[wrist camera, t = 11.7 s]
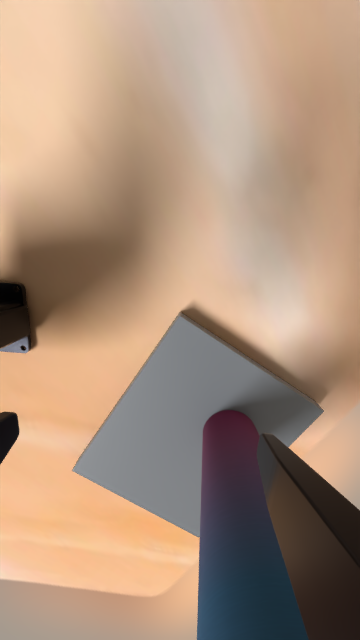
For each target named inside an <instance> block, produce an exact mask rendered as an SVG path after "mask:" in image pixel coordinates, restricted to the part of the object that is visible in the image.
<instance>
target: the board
mask: <svg viewBox="0 0 360 640" xmlns="http://www.w3.org/2000/svg"><path fill="white" fill-rule="evenodd" d="M224 410H234V411H239V412H241V413H243V414H245V415H246V416H248V417H249V418H250V419H251V420H252V422H253V423H254V425H255V427H256V429H257V431H258V433H259V435H260V434H261V433H270V434H273V435H275V436H276V437H277V438H278V439H279V440H280V441H281V442H283V443H284V444H285V445H286V446H287V447H289V446H290V445H291V444H292V443H293V442H294V441H295V440H296V439H297V438H298V437H299V436H300V435H301V434H302V433H303V432H304V431H305V430H306V429H307V428H308V427H309V426H310V425H311V424H312V423H313V422H314V421H315V420H316V419H317V418H318V417H319V416H320V415H321V414H322V413H323V412H324V410H323V409H322V408H321V407H320V406H319V405H318V404H317V403H316V402H315V401H314V400H312V399H311V398H309V397H308V396H306V395H305V394H303V393H302V392H300V391H299V390H297V389H296V388H294V387H293V386H291V385H290V384H288V383H287V382H285V381H284V380H282V379H281V378H279V377H278V376H276V375H275V374H273V373H272V372H270V371H269V370H267V369H266V368H264V367H263V366H261V365H260V364H258V363H257V362H255V361H254V360H252V359H251V358H249V357H248V356H246V355H245V354H243V353H241V352H240V351H238V350H237V349H235V348H234V347H232V346H231V345H229V344H228V343H226V342H225V341H223V340H222V339H220V338H219V337H217V336H216V335H214V334H213V333H211V332H210V331H208V330H207V329H205V328H204V327H202V326H201V325H199V324H198V323H196V322H195V321H193V320H192V319H190V318H189V317H187V316H186V315H184V314H183V313H181V312H180V313H179V314H178V315H177V317H176V318H175V320H174V321H173V323H172V324H171V326H170V327H169V329H168V330H167V331H166V333H165V334H164V336H163V337H162V339H161V340H160V342H159V343H158V344H157V346H156V347H155V349H154V350H153V352H152V353H151V355H150V356H149V357H148V359H147V360H146V362H145V363H144V365H143V366H142V368H141V369H140V370H139V372H138V373H137V375H136V376H135V378H134V379H133V381H132V382H131V384H130V385H129V386H128V388H127V389H126V391H125V392H124V394H123V395H122V397H121V398H120V399H119V401H118V402H117V404H116V405H115V407H114V408H113V410H112V411H111V412H110V414H109V415H108V417H107V418H106V420H105V421H104V423H103V424H102V425H101V427H100V428H99V430H98V431H97V433H96V434H95V436H94V437H93V439H92V440H91V441H90V443H89V444H88V446H87V447H86V449H85V450H84V452H83V453H82V454H81V456H80V457H79V459H78V461H77V462H76V464H75V466H74V468H73V470H72V471H74V472H75V473H77V474H79V475H81V476H83V477H85V478H87V479H89V480H91V481H93V482H94V483H96V484H98V485H100V486H102V487H104V488H106V489H108V490H110V491H111V492H113V493H115V494H117V495H119V496H121V497H123V498H125V499H127V500H129V501H130V502H132V503H134V504H136V505H138V506H140V507H142V508H144V509H146V510H147V511H149V512H151V513H153V514H155V515H157V516H159V517H161V518H163V519H165V520H166V521H168V522H170V523H172V524H174V525H176V526H178V527H180V528H182V529H183V530H185V531H187V532H189V533H191V534H193V535H195V536H197V537H200V514H201V478H202V441H203V428H204V425H205V423H206V421H207V420H208V419H209V418H210V417H211V416H212V415H214V414H215V413H217V412H220V411H224Z"/></svg>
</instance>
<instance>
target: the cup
mask: <svg viewBox="0 0 360 640" xmlns="http://www.w3.org/2000/svg"><path fill="white" fill-rule="evenodd" d="M259 437H260V435H259V433H258V431H257V429H256V427H255V425H254V423H253V422H252V420H251V419H250V418H249V417H248V416H246V415H245V414H243V413H241V412H239V411H234V410H224V411H220V412H217V413H215V414H214V415H212V416H211V417H210V418H209V419H208V420H207V421H206V423H205V425H204V428H203V441H202V478H201V514H200V550H199V588H198V589H199V590H198V625H197V640H309V639H308V636H307V633H306V630H305V626H304V623H303V620H302V617H301V613H300V610H299V607H298V604H297V601H296V597H295V594H294V591H293V588H292V585H291V581H290V578H289V575H288V572H287V568H286V565H285V562H284V559H283V556H282V552H281V549H280V546H279V543H278V539H277V536H276V533H275V530H274V527H273V523H272V520H271V517H270V514H269V510H268V507H267V503H266V498H265V494H264V489H263V484H262V479H261V475H260V470H259V465H258V460H257V448H258V442H259Z"/></svg>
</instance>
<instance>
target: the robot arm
mask: <svg viewBox="0 0 360 640" xmlns="http://www.w3.org/2000/svg"><path fill="white" fill-rule="evenodd" d="M17 287H18V288H19V291H18V290H17ZM24 346H25V347H26V349H25V348H24ZM30 350H31V339H30V325H29V315H28V308H27V301H26V292H25V287H24V285H23V284H21V283H14V282H0V351H3V352H16V353H26V352H28V351H30ZM18 435H19V424H18V417H17V414H16V413H14V412H2V413H0V464H1V463H2V461H3V460H4V458H5V457H6V455H7V453H8V452H9V450H10V449H11V447H12V446H13V444H14V443H15V441H16V440H17V438H18ZM257 460H258V465H259V470H260V475H261V479H262V484H263V489H264V494H265V498H266V503H267V507H268V510H269V514H270V517H271V520H272V523H273V527H274V530H275V533H276V536H277V539H278V543H279V546H280V549H281V552H282V556H283V559H284V562H285V565H286V568H287V572H288V575H289V578H290V581H291V585H292V588H293V591H294V594H295V597H296V601H297V604H298V607H299V610H300V613H301V617H302V620H303V623H304V626H305V630H306V633H307V636H308V639H309V640H360V510H359V509H357V508H356V507H355V506H354V505H353V504H351V502H350V501H348V500H347V499H346V498H345V497H344V496H343V495H342V494H340V493H339V492H338V491H337V490H336V489H335V488H334V487H332V486H331V485H330V484H329V483H328V482H327V481H326V480H325V479H323V478H322V477H321V476H320V475H319V474H318V473H317V472H315V471H314V470H313V469H312V468H311V467H310V466H309V465H307V464H306V463H305V462H304V461H303V460H302V459H301V458H300V457H298V456H297V455H296V454H295V453H294V452H293V451H292V450H290V449H289V448H288V447H287V446H286V445H285V444H284V443H283V442H281V441H280V440H279V439H278V438H277V437H276V436H275V435H273V434H270V433H261V434H260V437H259V442H258V448H257Z"/></svg>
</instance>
